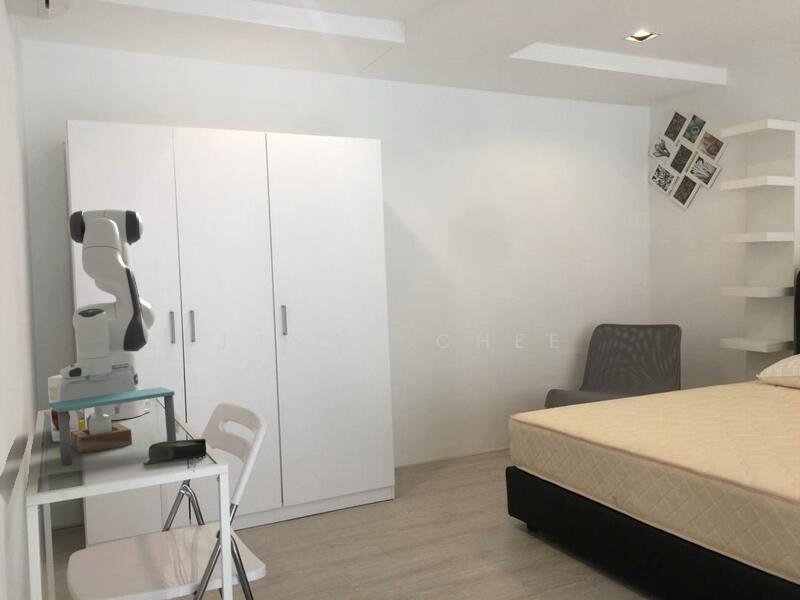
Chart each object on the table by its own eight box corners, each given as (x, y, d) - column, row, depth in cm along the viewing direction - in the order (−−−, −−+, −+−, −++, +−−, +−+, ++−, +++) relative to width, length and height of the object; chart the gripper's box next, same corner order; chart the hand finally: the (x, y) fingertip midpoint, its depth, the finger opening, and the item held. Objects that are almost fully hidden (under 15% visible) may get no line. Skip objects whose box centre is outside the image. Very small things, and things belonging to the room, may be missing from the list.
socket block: (71, 445, 195) (70, 431, 195) (119, 436, 203) (118, 423, 203) (81, 453, 185) (80, 438, 185) (132, 443, 193) (131, 429, 192)
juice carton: (65, 436, 208) (60, 373, 208) (91, 435, 207) (86, 372, 206) (48, 442, 201) (43, 377, 200) (75, 442, 199) (70, 376, 199)
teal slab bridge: (53, 457, 182) (49, 403, 181) (164, 437, 199) (160, 387, 198) (62, 466, 172) (58, 408, 171) (178, 443, 189) (174, 391, 189)
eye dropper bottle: (111, 445, 193) (108, 402, 192) (89, 447, 191) (86, 404, 191) (113, 441, 197) (110, 399, 196) (92, 444, 195) (89, 402, 195)
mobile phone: (205, 436, 176) (142, 443, 171) (206, 438, 173) (142, 445, 168) (206, 456, 176) (143, 463, 171) (207, 458, 173) (143, 466, 168)
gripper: (130, 361, 202) (134, 408, 203) (53, 371, 190) (57, 420, 190) (136, 363, 197) (140, 411, 198) (58, 373, 185) (62, 424, 185)
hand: (99, 416), depth 194 cm, fingers open, 8 cm apart
